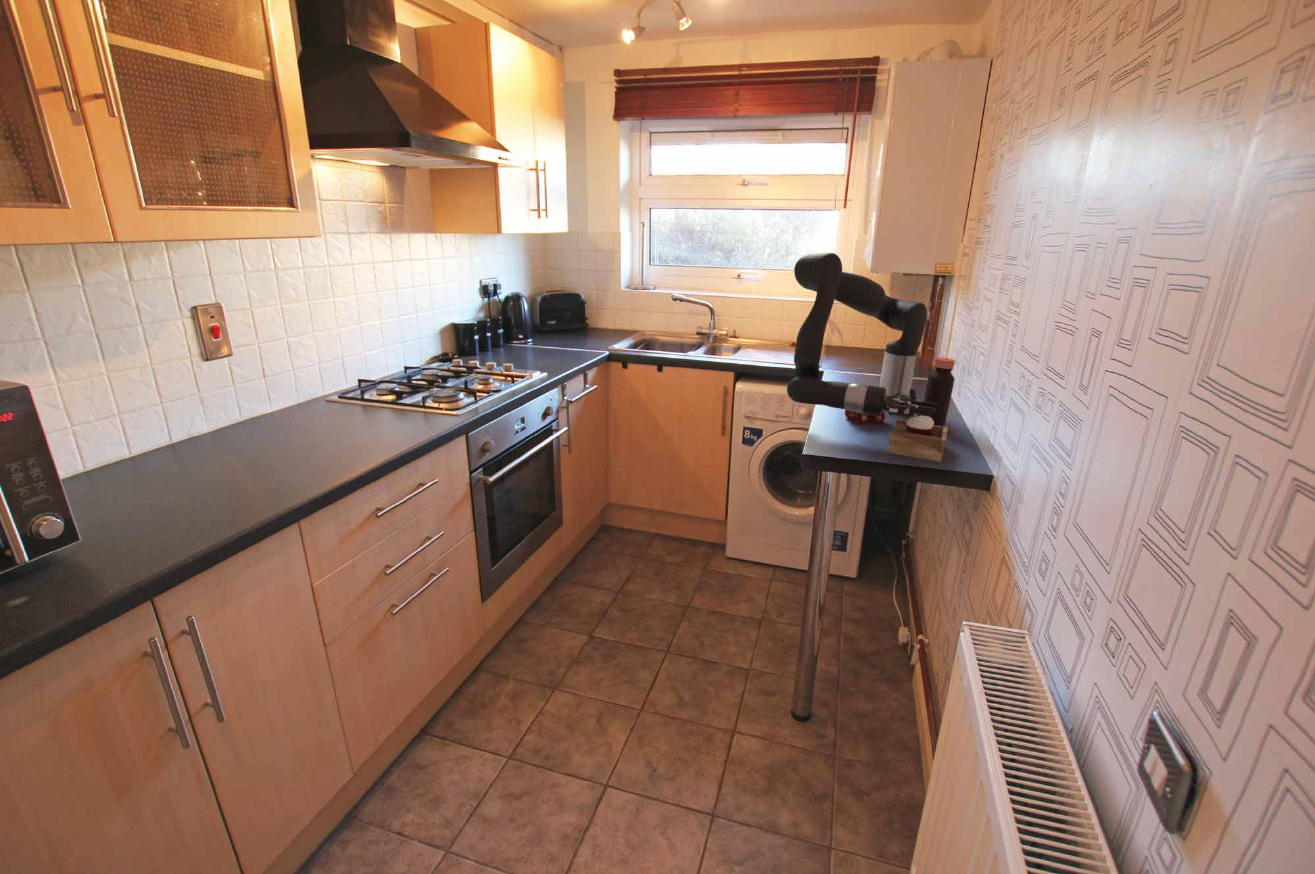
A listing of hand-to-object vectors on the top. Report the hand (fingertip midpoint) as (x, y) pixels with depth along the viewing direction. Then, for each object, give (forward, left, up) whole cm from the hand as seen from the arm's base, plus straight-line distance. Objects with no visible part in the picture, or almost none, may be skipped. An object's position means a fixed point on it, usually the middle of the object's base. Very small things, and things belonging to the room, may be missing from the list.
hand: (934, 410), depth 152 cm
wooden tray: (0, -2, -11) cm, 11 cm away
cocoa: (0, -3, -8) cm, 9 cm away
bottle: (-23, 0, -11) cm, 26 cm away
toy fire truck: (-18, -18, -11) cm, 28 cm away
